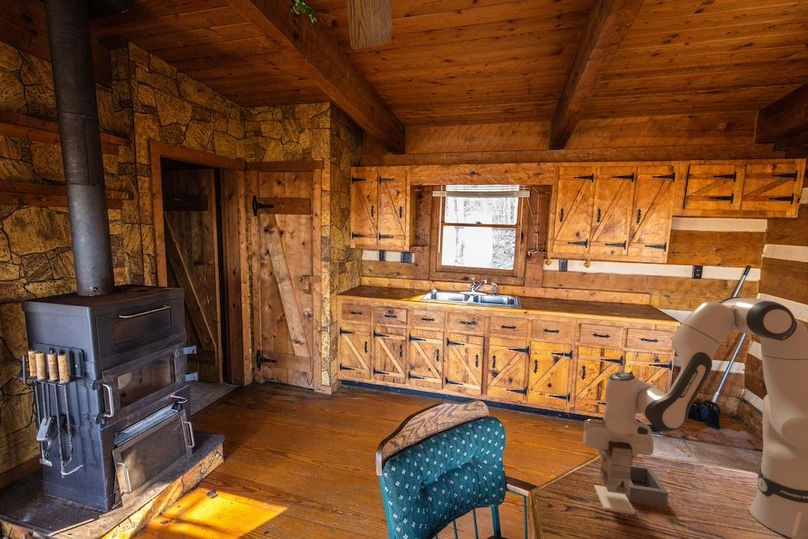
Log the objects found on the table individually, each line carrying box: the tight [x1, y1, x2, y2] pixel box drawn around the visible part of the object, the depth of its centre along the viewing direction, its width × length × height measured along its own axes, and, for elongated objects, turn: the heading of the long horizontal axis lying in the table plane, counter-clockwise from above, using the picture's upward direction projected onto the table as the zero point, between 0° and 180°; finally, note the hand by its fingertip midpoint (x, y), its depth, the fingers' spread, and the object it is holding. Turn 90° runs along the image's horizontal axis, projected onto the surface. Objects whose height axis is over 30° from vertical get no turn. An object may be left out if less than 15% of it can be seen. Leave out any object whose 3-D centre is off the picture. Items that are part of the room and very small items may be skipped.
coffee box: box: [599, 441, 633, 495], centre depth 122 cm, size 9×6×16 cm
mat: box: [593, 484, 636, 516], centre depth 123 cm, size 9×11×1 cm
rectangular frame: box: [625, 464, 669, 508], centre depth 128 cm, size 11×14×5 cm
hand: (615, 462), depth 122 cm, fingers closed on coffee box, 6 cm apart
